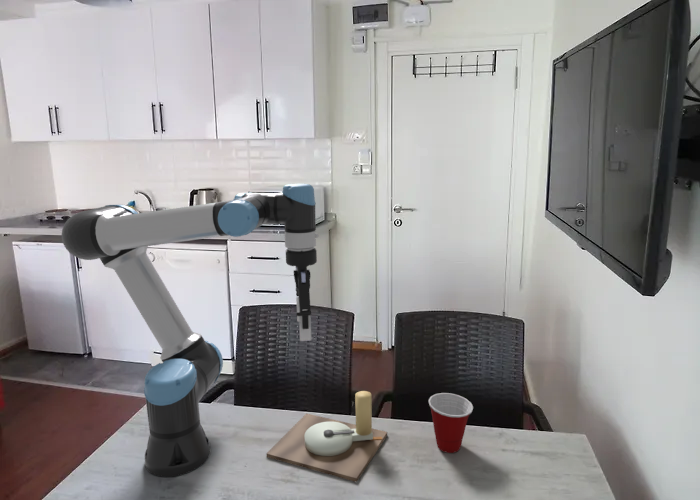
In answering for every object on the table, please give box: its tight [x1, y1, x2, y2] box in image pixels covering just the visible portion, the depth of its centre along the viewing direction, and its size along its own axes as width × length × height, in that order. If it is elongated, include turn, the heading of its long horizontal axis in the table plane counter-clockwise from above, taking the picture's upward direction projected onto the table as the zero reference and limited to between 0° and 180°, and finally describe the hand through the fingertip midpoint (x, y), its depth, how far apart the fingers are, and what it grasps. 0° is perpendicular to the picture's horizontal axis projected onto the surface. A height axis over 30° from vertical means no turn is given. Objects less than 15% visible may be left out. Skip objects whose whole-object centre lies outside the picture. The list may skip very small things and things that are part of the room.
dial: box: [305, 390, 373, 456], centre depth 126 cm, size 17×12×12 cm
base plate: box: [265, 413, 388, 483], centre depth 127 cm, size 24×20×1 cm
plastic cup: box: [428, 392, 474, 454], centre depth 125 cm, size 11×11×12 cm
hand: (303, 330), depth 128 cm, fingers open, 13 cm apart
